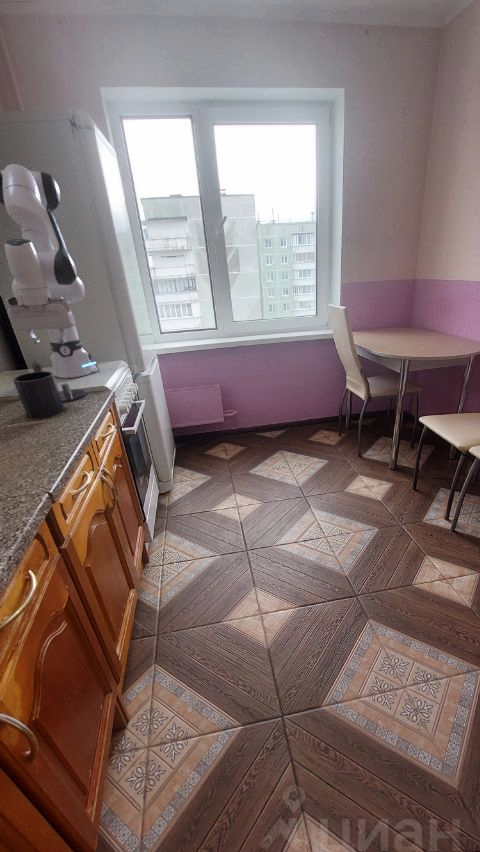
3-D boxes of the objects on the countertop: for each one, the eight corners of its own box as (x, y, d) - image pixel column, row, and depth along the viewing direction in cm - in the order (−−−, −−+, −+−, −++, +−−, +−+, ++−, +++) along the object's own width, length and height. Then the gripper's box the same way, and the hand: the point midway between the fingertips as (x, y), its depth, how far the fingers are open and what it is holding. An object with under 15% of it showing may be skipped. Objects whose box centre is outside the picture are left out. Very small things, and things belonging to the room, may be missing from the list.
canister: (32, 410, 130) (18, 373, 124) (67, 405, 133) (55, 369, 126) (24, 422, 121) (8, 383, 115) (61, 417, 124) (48, 379, 117)
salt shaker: (46, 393, 145) (35, 362, 139) (33, 393, 146) (21, 361, 140) (57, 388, 150) (46, 357, 144) (44, 388, 151) (33, 357, 145)
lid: (54, 395, 143) (49, 381, 141) (88, 391, 146) (84, 377, 143) (47, 405, 133) (42, 391, 131) (84, 401, 136) (80, 387, 133)
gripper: (71, 296, 125) (84, 340, 132) (12, 298, 126) (27, 342, 133) (61, 298, 119) (74, 343, 126) (-1, 300, 121) (16, 345, 128)
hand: (50, 342), depth 130 cm, fingers open, 8 cm apart
